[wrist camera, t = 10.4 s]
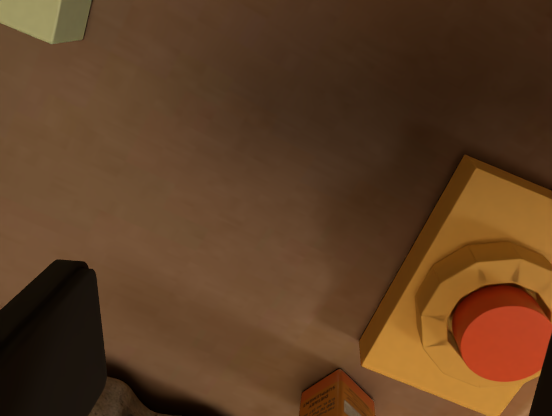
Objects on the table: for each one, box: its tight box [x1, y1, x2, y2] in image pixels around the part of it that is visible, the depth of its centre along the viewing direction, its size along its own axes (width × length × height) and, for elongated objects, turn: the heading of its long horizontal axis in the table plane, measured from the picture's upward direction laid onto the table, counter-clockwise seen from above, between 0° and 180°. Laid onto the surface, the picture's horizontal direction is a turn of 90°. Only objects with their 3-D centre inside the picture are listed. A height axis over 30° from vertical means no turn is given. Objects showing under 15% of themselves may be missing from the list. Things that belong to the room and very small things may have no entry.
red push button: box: [452, 285, 552, 382], centre depth 23 cm, size 4×4×2 cm
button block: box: [359, 155, 552, 416], centre depth 25 cm, size 8×12×4 cm, turn 159°
